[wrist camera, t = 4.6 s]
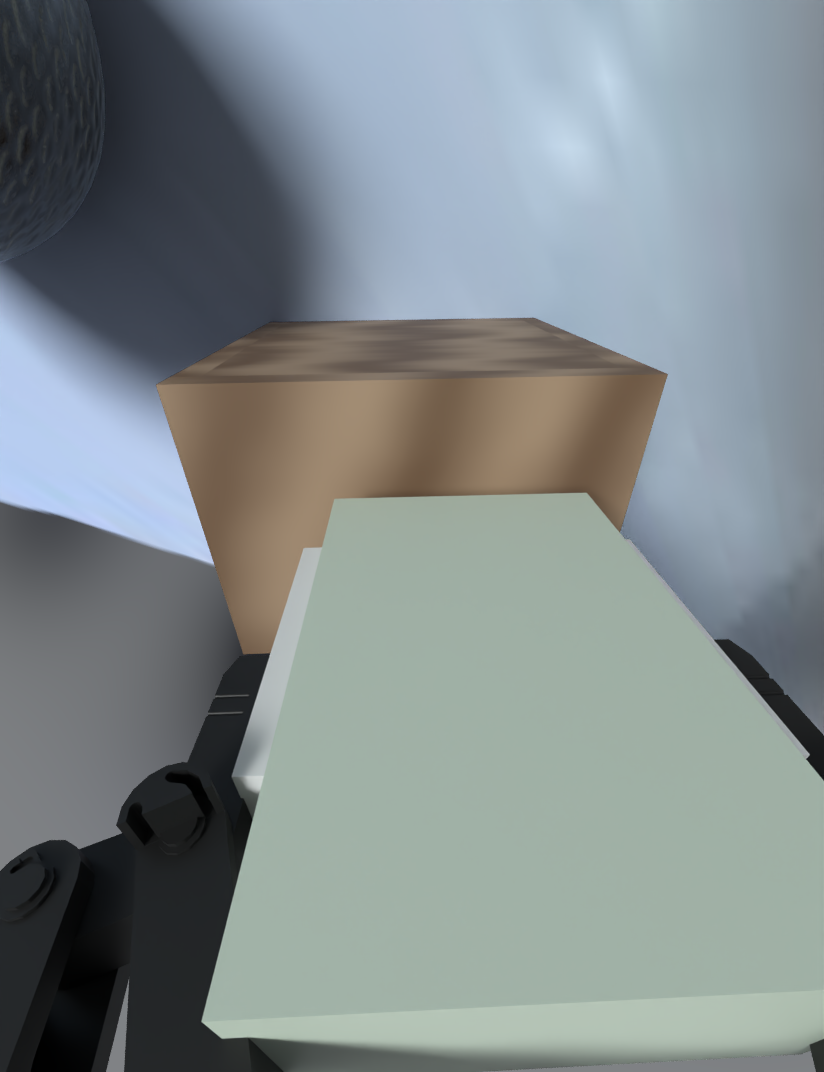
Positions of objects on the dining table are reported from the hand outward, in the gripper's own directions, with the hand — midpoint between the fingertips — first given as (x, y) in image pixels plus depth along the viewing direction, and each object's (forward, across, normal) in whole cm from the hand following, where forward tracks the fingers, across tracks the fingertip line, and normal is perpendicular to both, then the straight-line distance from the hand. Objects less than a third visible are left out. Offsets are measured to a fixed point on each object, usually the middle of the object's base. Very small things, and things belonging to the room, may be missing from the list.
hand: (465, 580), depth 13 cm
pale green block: (+2, 0, 0) cm, 2 cm away
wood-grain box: (+19, +2, +1) cm, 19 cm away
